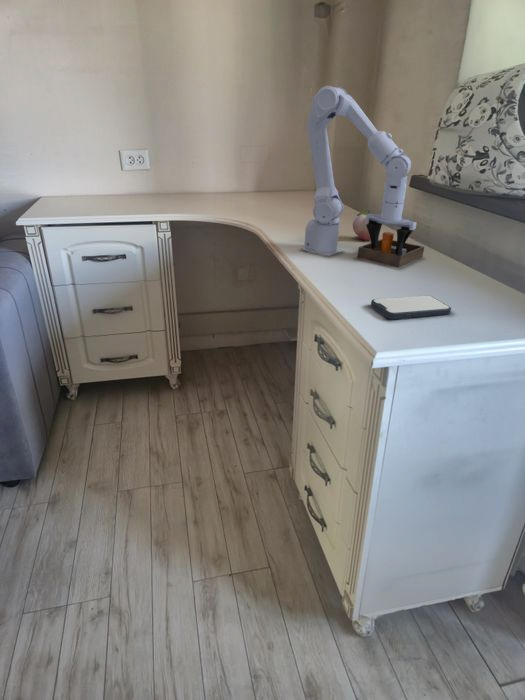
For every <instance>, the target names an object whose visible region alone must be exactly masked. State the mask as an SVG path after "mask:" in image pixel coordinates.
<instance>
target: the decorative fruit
mask: <svg viewBox="0 0 525 700" xmlns="http://www.w3.org/2000/svg"><path fill="white" fill-rule="evenodd" d="M370 212H371V211H370V210H369V209H368V212H365V211H364V212H359V213H357V214H356V217H355V218H354V220H353V222H352V229H353V232H354V233H355V235H356V236H357V237H358V238H359V239H361V240H362V241H365V242H368V241H371V239H370V235H369V232H368V229H367V227H366V225H367V224H368V223H369V222H367V221H365V220H366V214H370Z"/></svg>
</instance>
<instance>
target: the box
mask: <svg viewBox="0 0 525 700" xmlns="http://www.w3.org/2000/svg"><path fill="white" fill-rule="evenodd" d="M382 240H383V239H382V238H381V239H378V245H377V248H374V249H372V248H371V242H370V243H366V244H364V245H361V246H358V251H357V258H358V259H361V260H362V259H363V260H366V261H371V262H375V263H379V264H383V265H387V266H390V267H395V268H401V267H403V266H405V265H408V264H410V263H412V262H414V261H416V260H419V259H421V258H423V256H424V252H425V246H422V245H417V244H413V243H408V242H405V244H404V246H403V248H404V249H407V250H406V254H403V255H401V256H398V255H393V254H389V253H385V252H381V246H382ZM396 245H397V240H396V239H395V240H394V239H393V241H392V246H395V247H396Z"/></svg>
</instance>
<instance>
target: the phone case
mask: <svg viewBox="0 0 525 700" xmlns="http://www.w3.org/2000/svg"><path fill="white" fill-rule="evenodd" d="M370 307H372V308H373V309H374V310H376V311H377V312H379V313H380V314H381V315H382V316H384V317H385V318H387V319H390V320H396V319H409V318H419V317H429V316H433V317H434V316H442V315H443V316H444V315H449V314H451V311H452V307H451V306H450V305H448V304H446V303H444V302H443V301H441V300H439V299H437V298H435V297H433V296H432V295H415V296H414V295H413V296H400V297H399V296H398V297H387V298H386V297H385V298H374V299H371V301H370Z"/></svg>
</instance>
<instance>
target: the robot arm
mask: <svg viewBox="0 0 525 700" xmlns="http://www.w3.org/2000/svg"><path fill="white" fill-rule="evenodd" d="M311 101H312V103H311V107H310V111H309V113H308V117H307V121H306V129H307V135H308V143H309V149H310V156H311V161H312V168H313V175H314V183H315V189H316V191H315V195H314V198H313V199H314V205H313V210H312V213H313V217H314V219H311V220H309V221H308V222H307V224H306V227H305V231H304V232H305V234H304V235H305V236H304V246H303V248H302V251H305V252H312V253H317V254H320V255H324V256H331V255H335V254H337V253H340V252H343V249H341V248H338V242H339V233H340V232H339V231H340V223H341V222H340V219H339V217H340V216H341V215H342V213H343V210H344V204H343V202H342V200H341V198H340V196H339V191H338V189H337V188H336V186H335V179H334V173H333V166H332V165H333V164H332V157H331V151H330V150H331V149H330V142H329V136H328V127H329V125H330V123H331V122H332V121H333V120H334V118H335V117H336V116H341V117H345V118H347V119H348V120H349V121H350V122H351V123H352V124H353V126H355V127H356V129H357V130H358V131H359V132H360V133H361V134H362V135H363V136H364V137H365V138H366V140H367V149H368V150H369V152H371V154H372V155H373V156H374V157H375V159H376V160H377V162H379V163H380V165H381V166H384V172H385V175H386V177H385V178H386V179H385V183H384V187H383V188H384V189H383V196H382V203H381V209H380V210H381V212H380V214H375V213H369V214H366V220H365V221H367V222H369V223H368V224H367V225H366V227H367V229H368V232H369V235H370V239H371V240H370V243H371V248H372V249H374V248H377V245H378V240H379V238H380V233H381V229H382V226H383V225H387V226H391V227H397V230H396V241H397V245H396V251H395V254H400V253H401V251H402V248H403V246H404V244H405V243H407V240H408V238H409V237H410V236H411V235H412V233H413V232H414V230H416V228H417V223H418V222H417V221H413V220H409V219H405V218H403V212H404V205H405V200H406V199H405V198H406V194H407V193H406V192H407V187H408V185H407V184H408V174H409V173H410V171H411V168H412V160H411V159H410V156H409V155H408V154H406V153H404V150H403V148H399V147H398V145H397V144H396V143H395V142H394V141H393V139H392V138H393V136H392V134H391V133H390V132H388V133H387V132H386V131H385V130H378V129H377V127H375V125H374V124H373V122H371V120H370V119H369V117H368V116H367V115H366V113H365V112H364V111H363V110H362V108H361V107H360V105H359V104H358V103H357V101H356V100H355V99H354V98H353V97H352V96H351V95H350V94H348V93H347V91H346V89H344V88H343V87H340V86H331V85H324V86H322V87H321V88H320V89H319V90H318V91H317V92H316V94H315V95H314V96H313V97H312V99H311Z"/></svg>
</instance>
